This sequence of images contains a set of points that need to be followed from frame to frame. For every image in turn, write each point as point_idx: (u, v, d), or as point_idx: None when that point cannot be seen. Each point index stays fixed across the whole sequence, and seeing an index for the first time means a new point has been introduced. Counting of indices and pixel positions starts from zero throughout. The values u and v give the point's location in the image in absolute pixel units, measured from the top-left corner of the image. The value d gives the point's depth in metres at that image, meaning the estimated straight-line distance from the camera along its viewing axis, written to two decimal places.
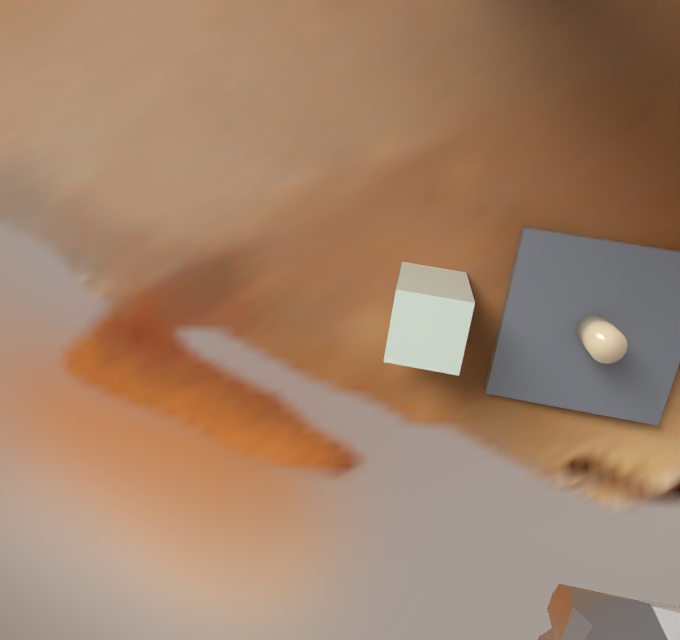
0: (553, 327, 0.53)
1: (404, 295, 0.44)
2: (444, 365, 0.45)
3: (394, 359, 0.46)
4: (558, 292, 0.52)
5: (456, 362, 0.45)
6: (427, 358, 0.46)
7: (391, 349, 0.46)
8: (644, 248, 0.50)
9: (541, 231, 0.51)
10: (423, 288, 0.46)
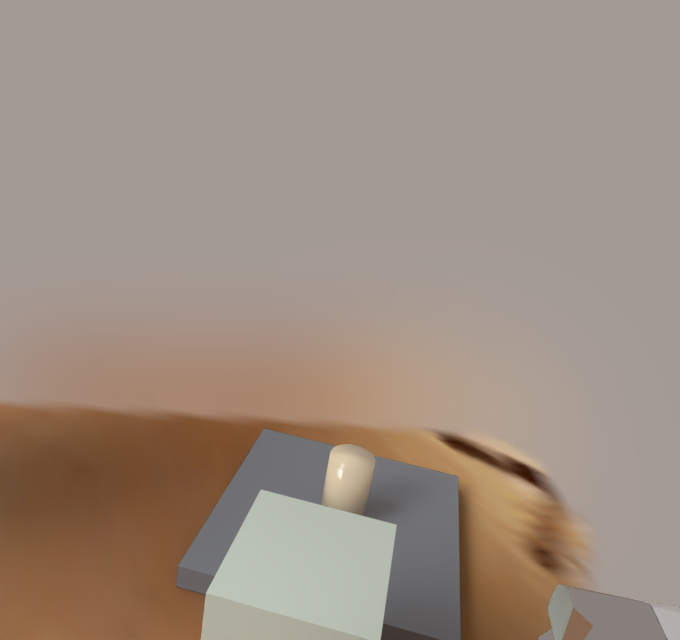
0: None
1: (223, 580, 0.20)
2: (378, 540, 0.23)
3: (372, 618, 0.20)
4: None
5: (371, 524, 0.24)
6: (367, 563, 0.22)
7: (348, 621, 0.19)
8: (241, 467, 0.42)
9: (190, 549, 0.34)
10: None
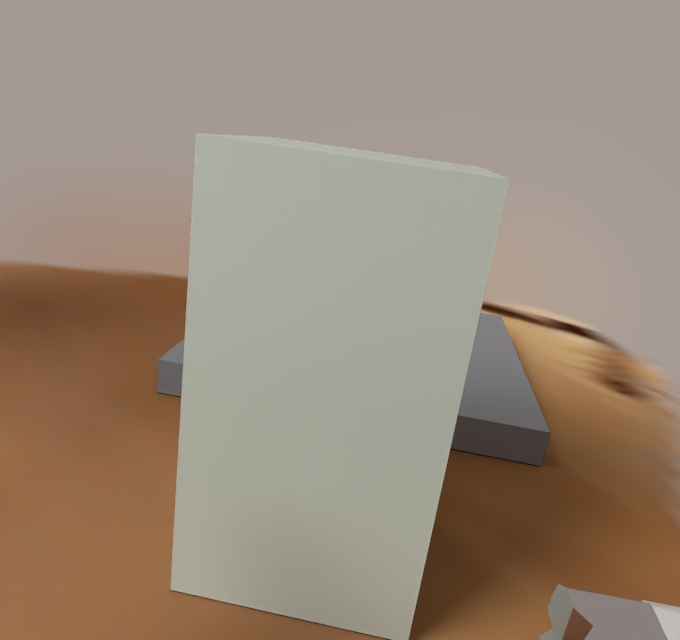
0: None
1: (225, 136, 0.12)
2: (461, 165, 0.15)
3: (484, 173, 0.12)
4: None
5: None
6: (452, 165, 0.14)
7: (446, 169, 0.11)
8: None
9: None
10: None
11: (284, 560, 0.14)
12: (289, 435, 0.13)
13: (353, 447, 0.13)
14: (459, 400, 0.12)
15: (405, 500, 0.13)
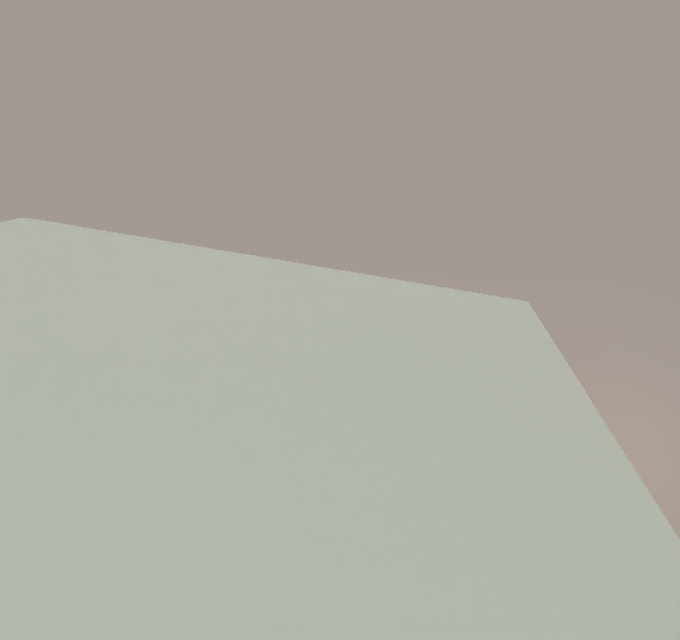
0: None
1: None
2: (480, 325, 0.05)
3: None
4: None
5: (433, 294, 0.06)
6: (458, 377, 0.04)
7: None
8: None
9: None
10: None
11: None
12: None
13: None
14: None
15: None
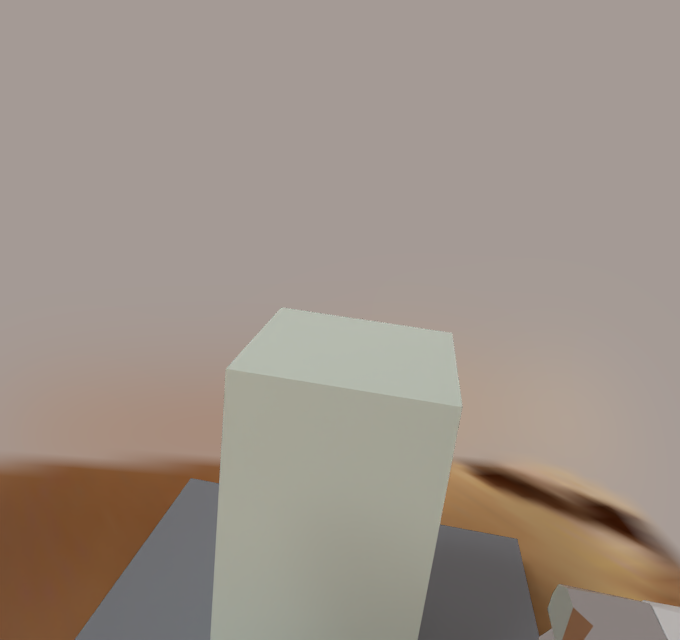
0: None
1: (247, 361, 0.15)
2: (434, 341, 0.19)
3: (446, 390, 0.15)
4: None
5: (421, 331, 0.20)
6: (425, 354, 0.17)
7: (415, 392, 0.15)
8: (137, 556, 0.23)
9: None
10: None
11: None
12: (300, 581, 0.16)
13: (351, 591, 0.16)
14: (431, 559, 0.16)
15: (393, 631, 0.16)
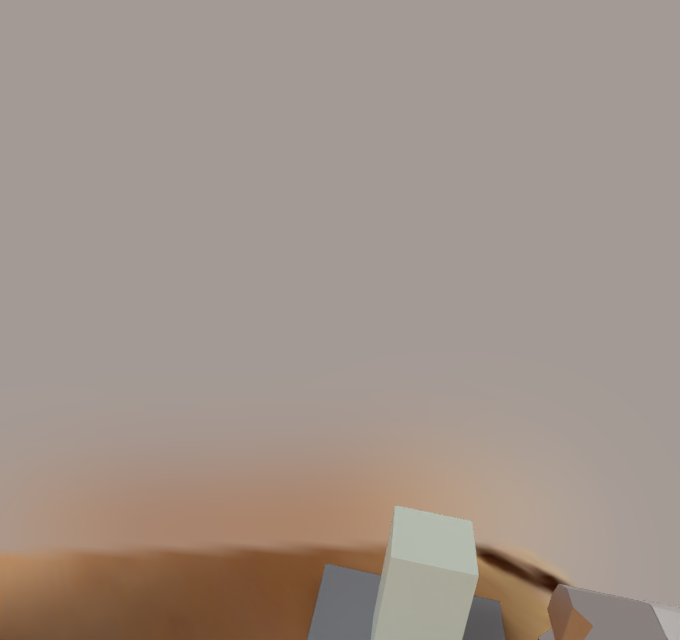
0: None
1: (396, 551, 0.40)
2: (465, 529, 0.44)
3: (472, 565, 0.40)
4: None
5: (458, 521, 0.45)
6: (462, 540, 0.42)
7: (461, 567, 0.40)
8: (315, 611, 0.48)
9: None
10: (388, 557, 0.42)
11: None
12: (411, 634, 0.41)
13: (432, 638, 0.41)
14: (464, 628, 0.41)
15: None
